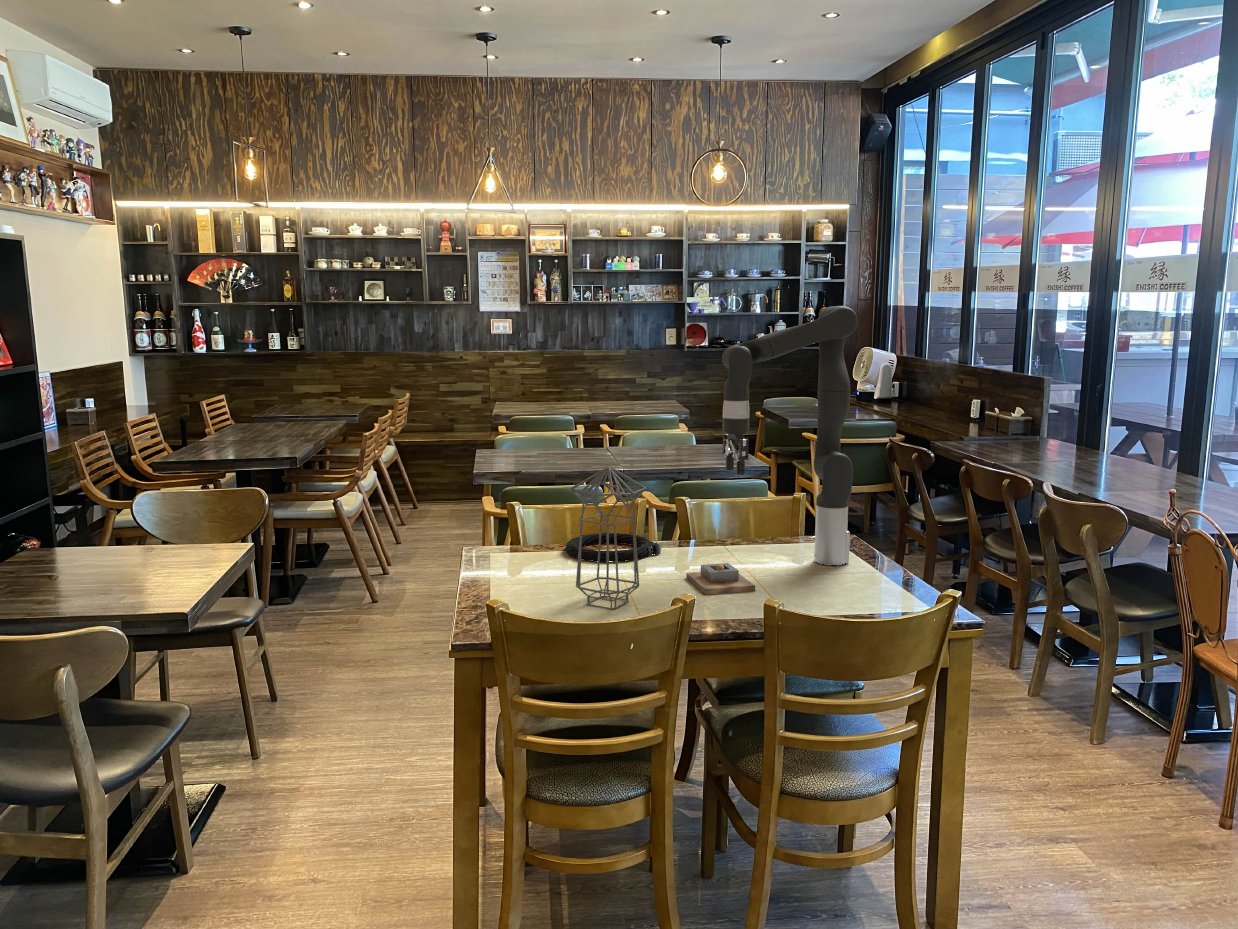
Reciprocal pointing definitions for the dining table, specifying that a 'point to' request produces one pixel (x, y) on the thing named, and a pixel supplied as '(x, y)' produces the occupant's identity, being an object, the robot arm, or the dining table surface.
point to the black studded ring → (643, 550)
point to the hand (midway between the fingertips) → (734, 472)
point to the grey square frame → (719, 573)
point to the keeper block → (720, 584)
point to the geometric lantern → (592, 495)
